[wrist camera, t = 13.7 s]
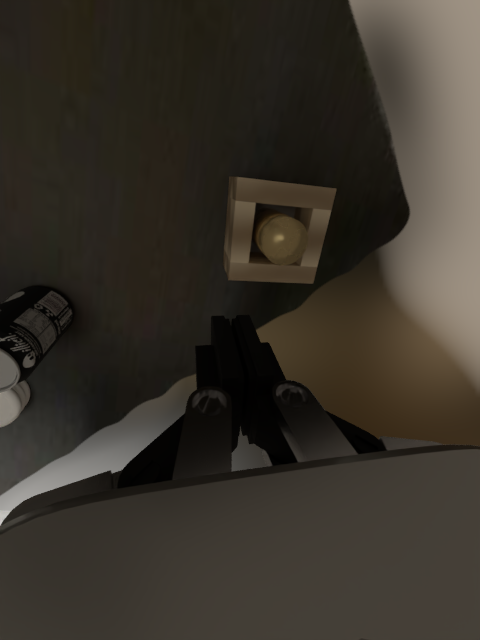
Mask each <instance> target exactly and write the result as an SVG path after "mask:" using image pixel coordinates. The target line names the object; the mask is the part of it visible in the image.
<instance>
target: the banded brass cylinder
mask: <svg viewBox="0 0 480 640" xmlns="http://www.w3.org/2000/svg"><path fill="white" fill-rule="evenodd" d="M251 240H252V241H253V242H254V243H255V245H256V246H257V247H258V248H259V249H260V250H261V251H262V252H263V254H264V255H265V256H266V257H267V258H268V259H269V260H270V261H271V262H273V263H274V264H277V265H289V264H292V263H294V262H295V261H297V260H298V259H299V258H300V257H301V256H302V255H303V253H304V252H305V250H306V247H307V244H308V233H307V230H306V228H305V226H304V225H303V224H302V223H301V222H300V221H298V220H296V219H294V218H292V217H290V216H287V215H285V214H283V213H281V212H278V211H276V210H274V209H271V208H261V209H259V210H257V211H256V212H255V214H254V222H253V230H252V239H251Z"/></svg>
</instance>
